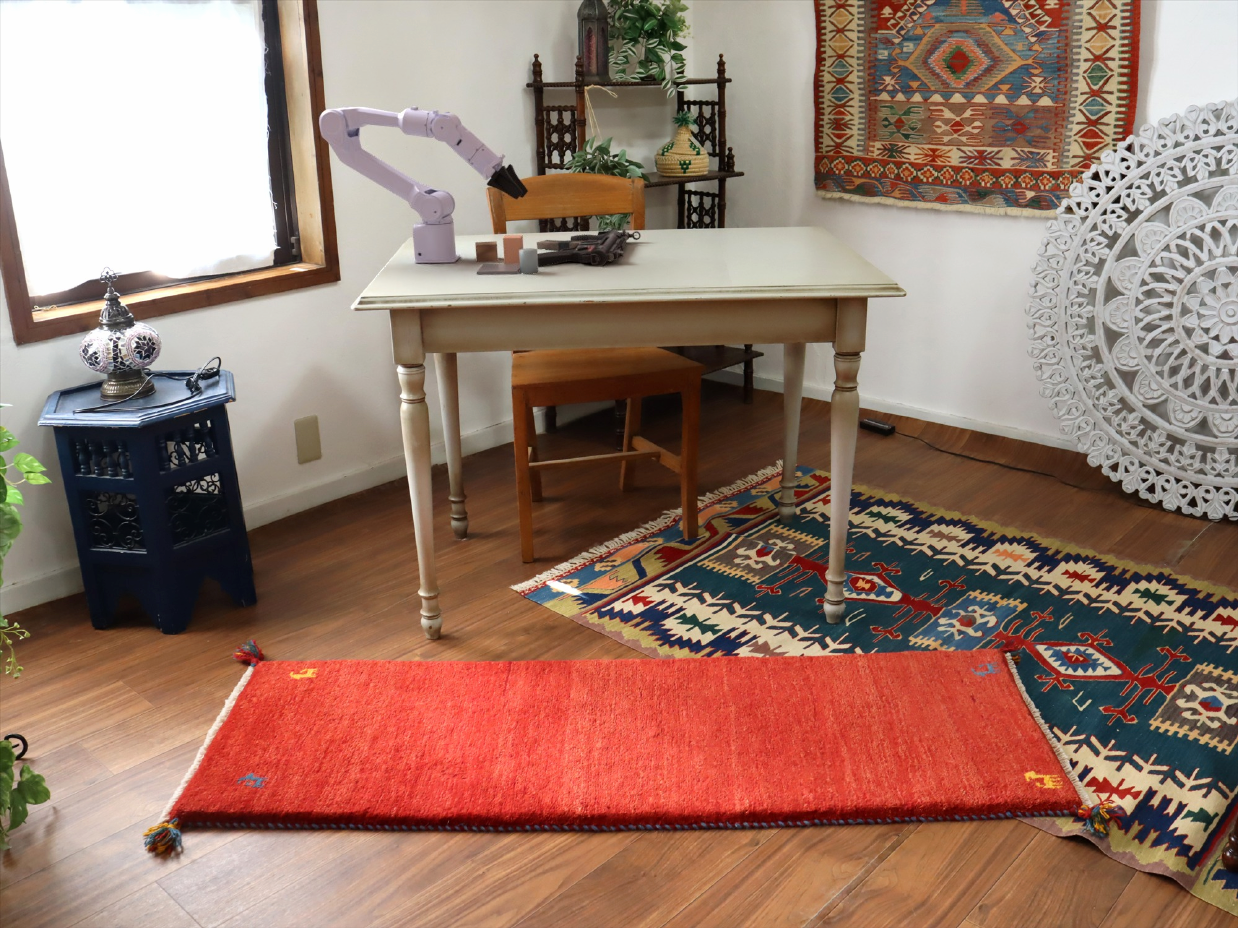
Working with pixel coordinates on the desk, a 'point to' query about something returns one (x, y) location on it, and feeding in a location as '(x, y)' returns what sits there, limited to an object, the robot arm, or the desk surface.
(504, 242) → the terracotta block
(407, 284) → the desk surface
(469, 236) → the desk surface
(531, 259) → the grey teal cylinder
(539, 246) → the submachine gun
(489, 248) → the walnut block
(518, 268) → the slate pad
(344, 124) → the robot arm
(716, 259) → the desk surface
